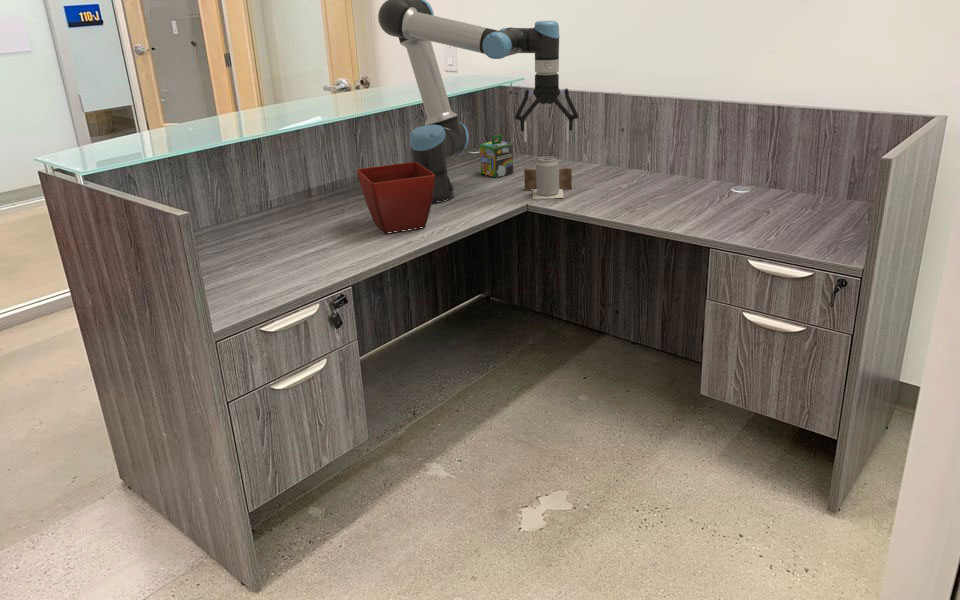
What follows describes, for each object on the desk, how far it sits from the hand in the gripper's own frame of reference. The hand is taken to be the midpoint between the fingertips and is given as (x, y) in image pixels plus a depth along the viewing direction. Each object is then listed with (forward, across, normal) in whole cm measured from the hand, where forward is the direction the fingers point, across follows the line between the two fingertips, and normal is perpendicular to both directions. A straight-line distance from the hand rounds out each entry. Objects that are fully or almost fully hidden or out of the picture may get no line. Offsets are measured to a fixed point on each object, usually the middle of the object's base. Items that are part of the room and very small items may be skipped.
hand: (546, 140), depth 248 cm
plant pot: (+19, -44, -30) cm, 57 cm away
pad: (+18, +1, 0) cm, 18 cm away
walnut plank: (+18, +1, +8) cm, 20 cm away
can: (+18, +1, 0) cm, 18 cm away
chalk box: (+19, -18, +30) cm, 40 cm away
